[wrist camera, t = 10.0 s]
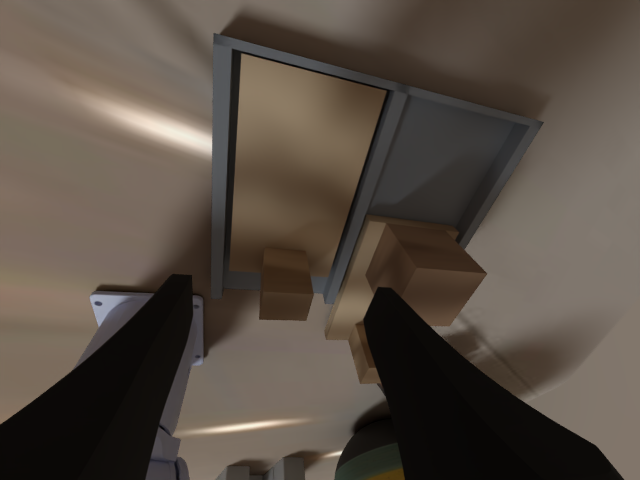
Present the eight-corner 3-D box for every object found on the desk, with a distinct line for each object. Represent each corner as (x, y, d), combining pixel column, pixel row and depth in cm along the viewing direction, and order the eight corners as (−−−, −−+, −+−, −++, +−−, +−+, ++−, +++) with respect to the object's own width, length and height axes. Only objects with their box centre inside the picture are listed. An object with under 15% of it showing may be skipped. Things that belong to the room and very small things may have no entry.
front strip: (326, 269, 23) (339, 321, 18) (230, 262, 21) (220, 318, 16) (380, 88, 16) (424, 104, 11) (243, 53, 14) (230, 54, 9)
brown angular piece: (392, 332, 29) (414, 381, 25) (324, 331, 27) (334, 384, 23) (452, 225, 22) (497, 268, 18) (365, 214, 20) (392, 259, 16)
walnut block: (418, 278, 24) (449, 326, 20) (365, 274, 22) (386, 324, 18) (445, 230, 21) (487, 273, 17) (386, 223, 20) (416, 267, 16)
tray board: (420, 296, 27) (428, 307, 26) (214, 285, 23) (210, 298, 21) (525, 117, 18) (543, 122, 17) (218, 34, 14) (213, 33, 12)
